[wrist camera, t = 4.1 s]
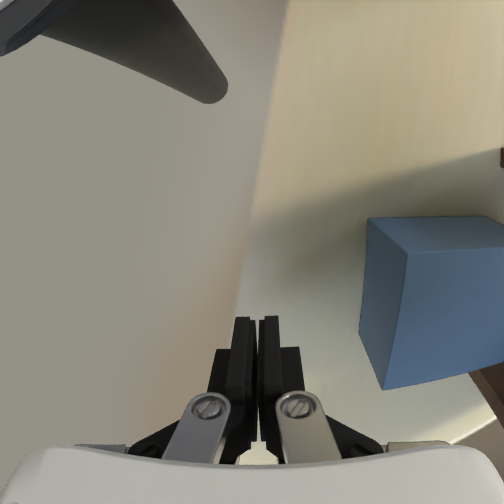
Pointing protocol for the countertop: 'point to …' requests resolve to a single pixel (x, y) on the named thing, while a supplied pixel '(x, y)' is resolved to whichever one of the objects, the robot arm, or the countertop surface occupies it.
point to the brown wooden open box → (492, 376)
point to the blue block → (432, 297)
